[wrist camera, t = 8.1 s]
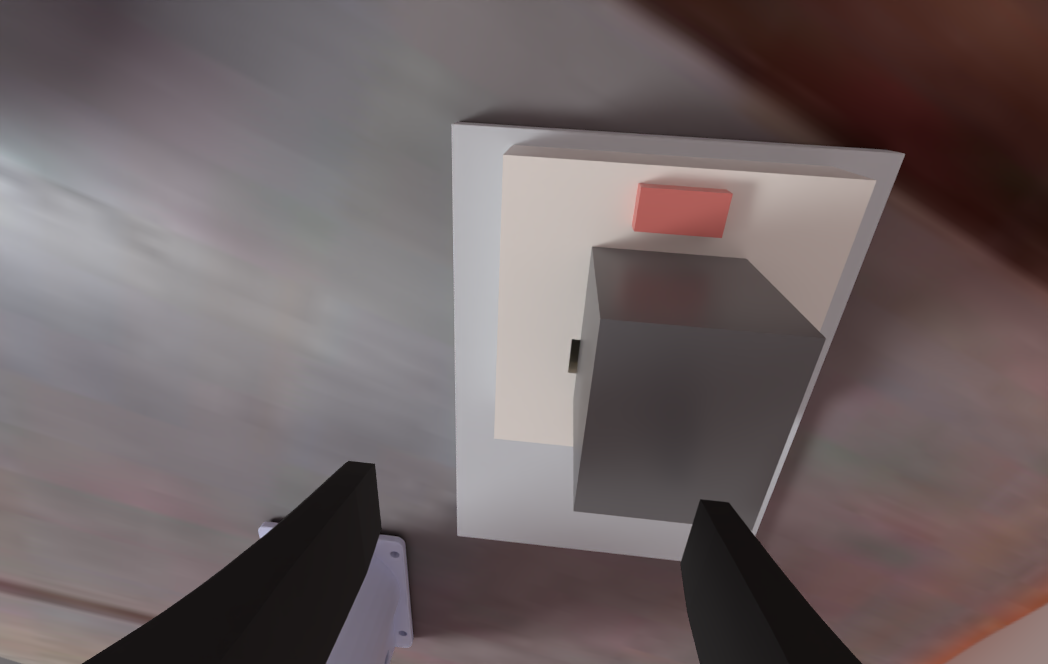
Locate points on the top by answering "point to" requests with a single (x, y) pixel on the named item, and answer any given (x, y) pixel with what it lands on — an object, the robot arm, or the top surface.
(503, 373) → the socket plate
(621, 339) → the plug
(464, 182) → the socket mat
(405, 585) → the robot arm
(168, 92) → the top surface
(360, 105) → the top surface
